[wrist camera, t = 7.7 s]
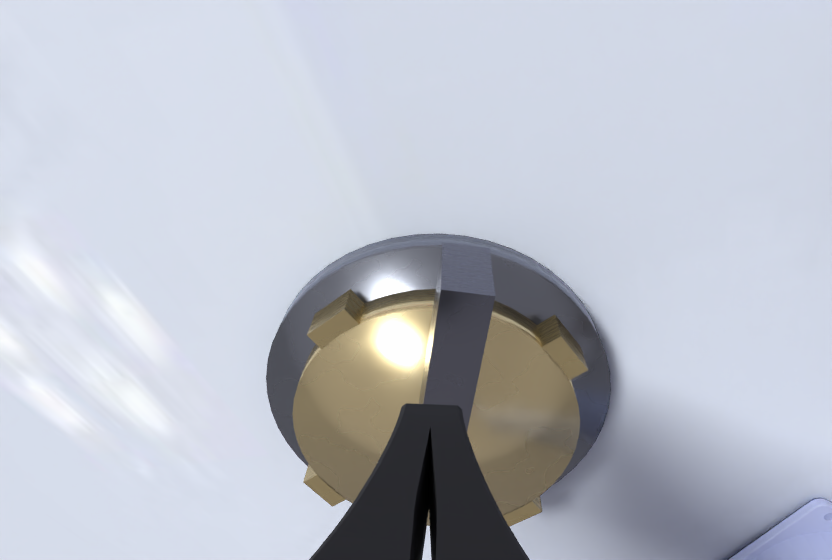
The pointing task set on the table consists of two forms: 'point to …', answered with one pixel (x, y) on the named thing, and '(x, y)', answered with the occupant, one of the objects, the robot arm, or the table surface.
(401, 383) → the tabbed brass dial
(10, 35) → the table surface
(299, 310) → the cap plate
